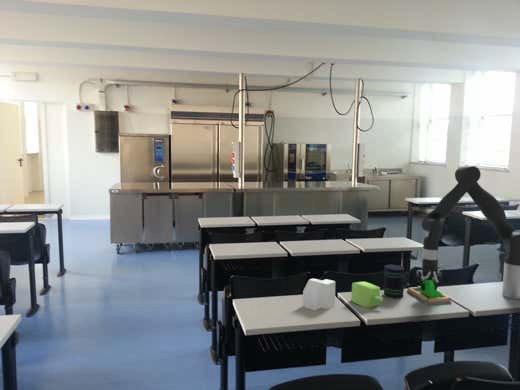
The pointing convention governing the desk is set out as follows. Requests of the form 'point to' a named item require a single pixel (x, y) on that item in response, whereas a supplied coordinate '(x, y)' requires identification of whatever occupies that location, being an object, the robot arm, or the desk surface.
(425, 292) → the mechanical part
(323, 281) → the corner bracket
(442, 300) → the fitting jig
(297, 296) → the desk surface
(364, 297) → the gearbox
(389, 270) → the storage jar
